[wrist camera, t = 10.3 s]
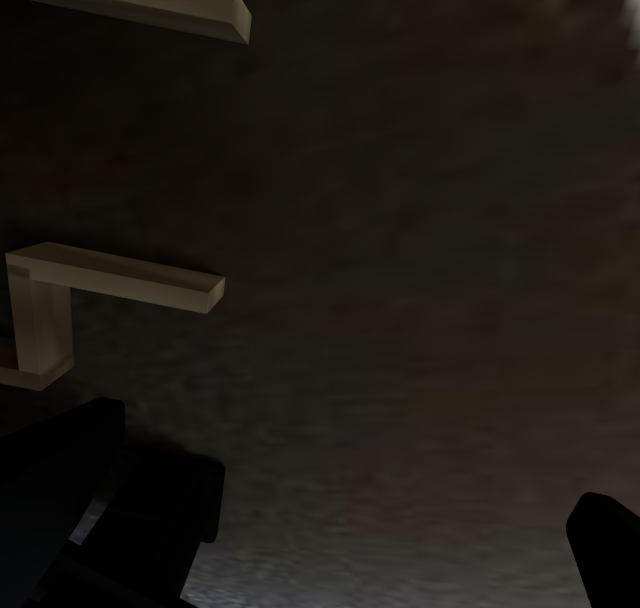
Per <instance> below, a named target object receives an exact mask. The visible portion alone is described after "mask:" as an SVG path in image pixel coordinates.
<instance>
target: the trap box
mask: <svg viewBox="0 0 640 608" xmlns="http://www.w3.org/2000/svg"><path fill="white" fill-rule="evenodd" d="M31 1H36V2H41V3H46V4H51V5H56V6H61V7H65V8H70V9H75V10H80V11H85V12H90V13H95V14H100V15H105V16H110V17H115V18H119V19H124V20H129V21H134V22H139V23H144V24H149V25H154V26H159V27H164V28H168V29H173V30H178V31H183V32H188V33H193V34H198V35H203V36H208V37H213V38H218V39H222V40H227V41H232V42H237V43H242V44H247V45H249V37H250V27H251V17H252V15H251V14H250V12H249V11H248V9H247V7H246V6H245V4H244V3H243V1H242V0H31ZM5 255H6V263H7V272H8V280H9V289H10V297H11V306H12V314H13V323H14V331H15V339H11V338H6V337H1V336H0V383H1V384H6V385H11V386H16V387H22V388H27V389H32V390H37V391H42V390H43V389H44V388H46V387H47V386H48V385H50V384H51V383H52V382H54V381H55V380H56V379H58V378H59V377H60V376H62V375H63V374H64V373H66V372H67V371H68V370H70V369H71V368H72V367H74V352H73V334H72V317H71V299H70V287H73V288H78V289H83V290H88V291H93V292H99V293H104V294H109V295H114V296H119V297H124V298H129V299H134V300H139V301H144V302H149V303H154V304H159V305H164V306H169V307H175V308H180V309H185V310H190V311H195V312H200V313H205V314H207V313H208V312H209V311H210V310H211V308H212V307H213V306H214V305H215V304H216V303H217V302H218V301H219V300H220V299H221V298H222V296H223V295H224V285H225V277H223V276H218V275H213V274H208V273H203V272H198V271H192V270H187V269H182V268H177V267H172V266H167V265H162V264H157V263H152V262H147V261H142V260H137V259H132V258H127V257H122V256H117V255H112V254H107V253H102V252H97V251H92V250H87V249H82V248H76V247H71V246H66V245H61V244H56V243H51V242H45V243H41V244H37V245H34V246H30V247H26V248H22V249H18V250H15V251H11V252H7V253H5Z"/></svg>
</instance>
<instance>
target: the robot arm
mask: <svg viewBox="0 0 640 608" xmlns="http://www.w3.org/2000/svg"><path fill="white" fill-rule="evenodd" d="M124 438H125V405H124V403H123V402H122V401H121V400H117V399H112V398H107V397H100V398H97V399H94V400H92V401H89V402H87V403H84V404H82V405H80V406H77V407H75V408H72V409H70V410H67V411H65V412H62V413H60V414H58V415H55V416H53V417H50V418H48V419H45V420H43V421H41V422H38V423H36V424H33V425H31V426H28V427H26V428H23V429H21V430H19V431H16V432H14V433H11V434H9V435H6V436H4V437H1V438H0V608H198V607H196V606H194V605H192V604H190V603H188V602H186V601H184V600H182V599H181V598H180V595H181V592H182V590H183V587H184V585H185V582H186V579H187V577H188V574H189V571H190V569H191V566H192V564H193V561H194V558H195V556H196V553H197V550H198V548H199V545H200V542H205V543H212V542H214V541H215V539H216V536H217V533H218V525H219V517H220V509H221V501H222V493H223V485H224V477H225V467H224V466H223V465H222V464H220V463H217V462H212V461H207V460H201V459H196V458H191V457H186V456H181V455H176V454H170V453H165V452H160V451H155V450H150V449H145V448H139V447H134V446H129V445H125V446H123V447H122V444H123V442H124ZM121 447H122V448H121ZM127 454H128V455H127ZM116 456H117V493H116V495H115V496H114V497H113V499H112V500H111V502H110V503H109V505H108V506H107V508H106V509H105V510H104V512H103V513H102V515H101V516H100V518H99V519H98V521H97V522H96V523H95V525H94V526H93V528H92V529H91V531H90V532H89V534H88V535H87V536H86V538H85V539H84V541H83V542H82V544H81V545H78V544H76V543H75V542H73V541H71V540H69V537H70V535H71V534H72V532H73V531H74V529H75V528H76V526H77V525H78V523H79V521H80V520H81V518H82V516H83V515H84V513H85V511H86V509H87V508H88V506H89V504H90V502H91V500H92V499H93V497H94V495H95V493H96V492H97V490H98V488H99V486H100V484H101V483H102V481H103V479H104V477H105V476H106V474H107V472H108V470H109V468H110V467H111V465H112V463H113V461H114V460H115V458H116ZM215 471H217V472H215ZM566 533H567V537H568V540H569V543H570V546H571V549H572V552H573V555H574V557H575V560H576V563H577V566H578V569H579V572H580V575H581V578H582V581H583V584H584V587H585V590H586V593H587V596H588V599H589V601H590V604H591V607H592V608H640V517H639V516H637V515H636V514H634V513H633V512H632V511H630V510H629V509H627V508H626V507H625V506H623V505H622V504H621V503H619V502H618V501H616V500H615V499H613V498H612V497H610V496H607V495H602V494H597V493H592V492H587V493H585V494H583V495H582V496H581V498H580V499H579V501H578V503H577V504H576V506H575V508H574V510H573V511H572V513H571V515H570V516H569V518H568V520H567V523H566Z"/></svg>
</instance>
